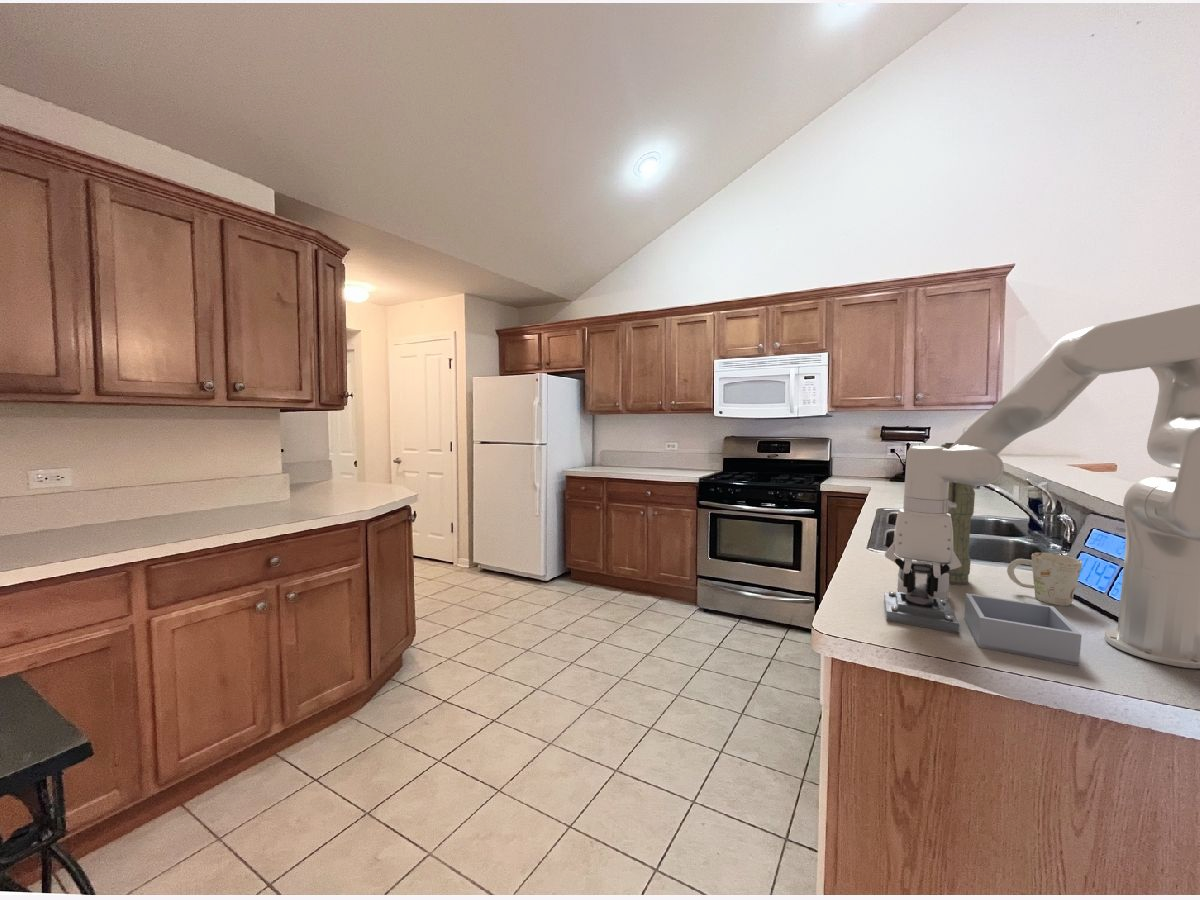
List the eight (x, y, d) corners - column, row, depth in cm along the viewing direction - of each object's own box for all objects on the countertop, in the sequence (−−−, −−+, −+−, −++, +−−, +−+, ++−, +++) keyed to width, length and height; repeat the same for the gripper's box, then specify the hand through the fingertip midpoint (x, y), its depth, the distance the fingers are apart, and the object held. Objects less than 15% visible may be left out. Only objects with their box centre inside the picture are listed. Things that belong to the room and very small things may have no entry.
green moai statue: (924, 581, 122) (932, 443, 119) (929, 569, 131) (937, 441, 129) (968, 589, 117) (978, 445, 114) (969, 576, 126) (979, 443, 123)
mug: (1076, 611, 104) (1080, 566, 103) (1001, 594, 114) (1005, 553, 113) (1080, 601, 110) (1083, 558, 109) (1008, 586, 119) (1011, 546, 118)
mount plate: (948, 611, 103) (949, 596, 103) (958, 633, 93) (959, 617, 93) (884, 600, 109) (884, 586, 109) (886, 620, 99) (887, 605, 98)
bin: (1050, 633, 93) (1053, 606, 93) (1078, 666, 81) (1081, 634, 81) (964, 619, 100) (965, 593, 99) (978, 646, 88) (980, 617, 87)
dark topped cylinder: (931, 604, 102) (933, 563, 101) (934, 613, 98) (936, 569, 97) (904, 600, 104) (906, 559, 103) (906, 608, 100) (908, 566, 99)
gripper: (970, 506, 99) (964, 593, 100) (878, 499, 106) (874, 580, 108) (978, 513, 92) (972, 606, 94) (879, 504, 100) (874, 591, 101)
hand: (919, 591), depth 101 cm, fingers closed on dark topped cylinder, 3 cm apart
